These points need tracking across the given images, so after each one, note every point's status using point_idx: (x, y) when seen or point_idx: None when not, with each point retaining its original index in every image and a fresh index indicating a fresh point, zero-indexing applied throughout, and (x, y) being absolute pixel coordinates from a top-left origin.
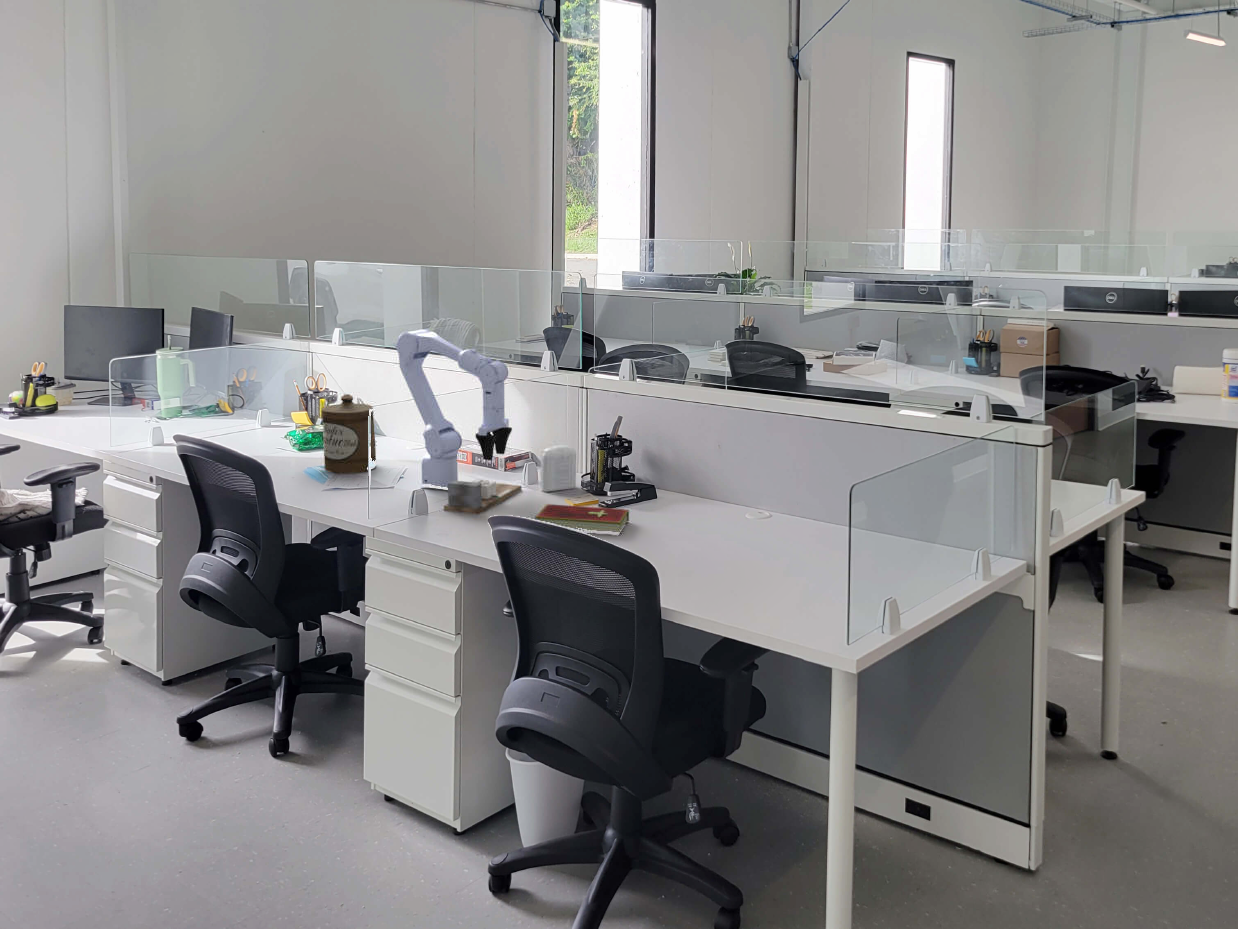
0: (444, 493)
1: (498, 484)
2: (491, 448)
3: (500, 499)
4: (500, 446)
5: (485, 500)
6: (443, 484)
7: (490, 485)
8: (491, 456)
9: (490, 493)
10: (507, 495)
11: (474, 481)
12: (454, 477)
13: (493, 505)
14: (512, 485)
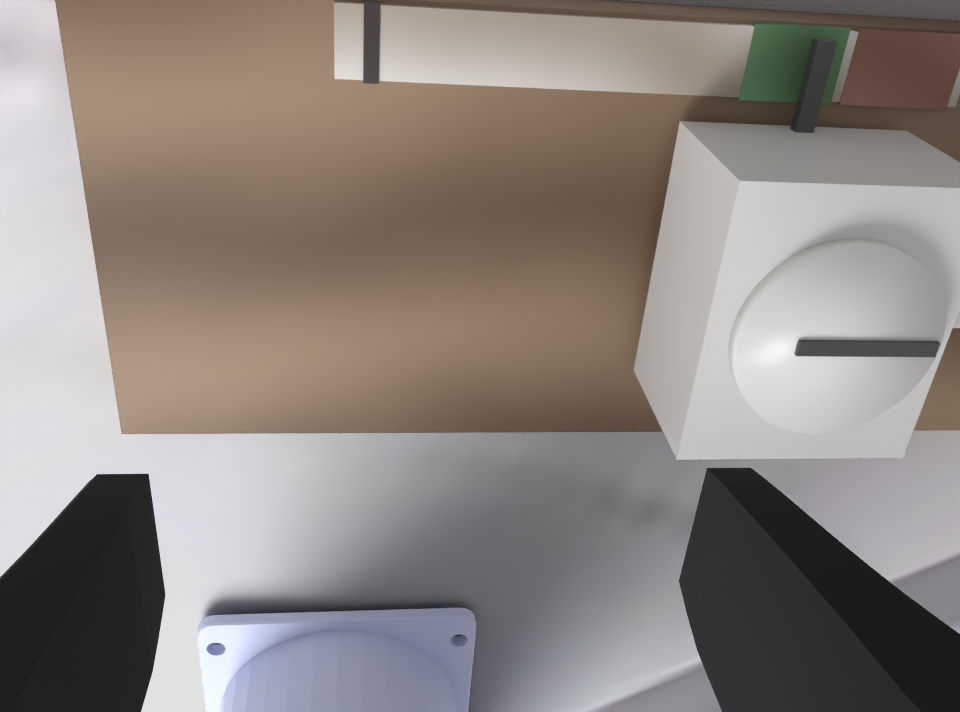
0: (542, 617)
1: (151, 299)
2: (956, 637)
3: (749, 15)
4: (104, 661)
5: None
6: (452, 705)
7: (904, 182)
8: (794, 507)
9: (854, 143)
10: (539, 3)
11: (870, 411)
12: (366, 708)
13: (930, 21)
14: (101, 114)
